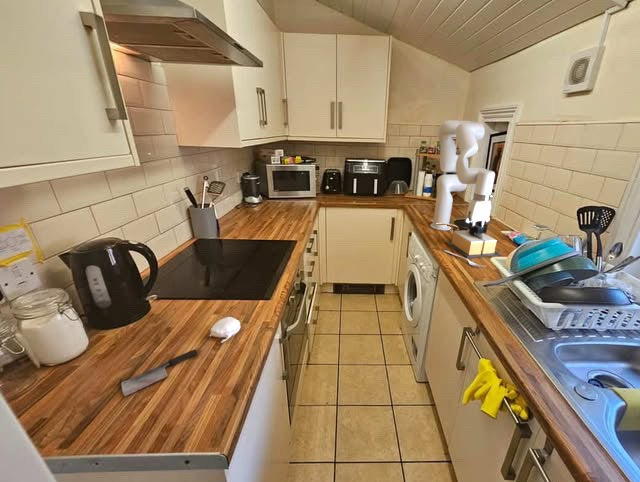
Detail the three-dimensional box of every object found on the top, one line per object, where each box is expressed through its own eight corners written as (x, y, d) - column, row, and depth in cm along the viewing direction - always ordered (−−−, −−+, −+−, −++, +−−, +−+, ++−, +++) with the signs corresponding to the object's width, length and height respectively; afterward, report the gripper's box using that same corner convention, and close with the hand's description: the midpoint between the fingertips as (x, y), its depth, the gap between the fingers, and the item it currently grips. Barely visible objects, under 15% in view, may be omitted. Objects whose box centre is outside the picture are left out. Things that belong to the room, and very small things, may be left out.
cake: (446, 243, 159) (448, 229, 156) (475, 241, 163) (478, 228, 160) (467, 258, 141) (469, 243, 138) (500, 255, 145) (503, 241, 142)
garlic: (221, 344, 82) (219, 333, 80) (205, 336, 85) (203, 325, 83) (244, 329, 88) (243, 318, 87) (229, 321, 91) (227, 311, 90)
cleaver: (122, 395, 65) (119, 381, 68) (124, 398, 65) (121, 385, 69) (201, 358, 75) (195, 348, 78) (202, 361, 75) (195, 351, 79)
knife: (463, 240, 156) (466, 222, 152) (468, 240, 157) (472, 221, 153) (477, 249, 145) (481, 229, 142) (482, 248, 146) (486, 229, 142)
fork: (446, 249, 150) (446, 246, 149) (486, 269, 131) (487, 265, 130) (441, 250, 149) (442, 247, 148) (481, 270, 129) (482, 266, 129)
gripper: (491, 195, 147) (484, 230, 154) (462, 196, 143) (456, 232, 150) (501, 198, 140) (493, 235, 148) (471, 199, 136) (464, 237, 144)
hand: (474, 233), depth 149 cm, fingers closed on knife, 3 cm apart
